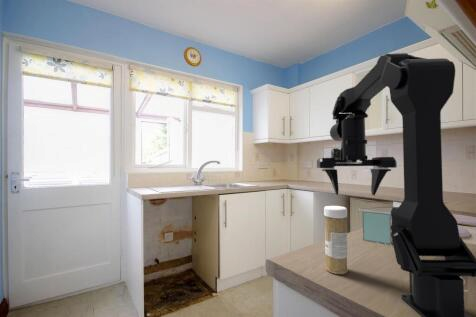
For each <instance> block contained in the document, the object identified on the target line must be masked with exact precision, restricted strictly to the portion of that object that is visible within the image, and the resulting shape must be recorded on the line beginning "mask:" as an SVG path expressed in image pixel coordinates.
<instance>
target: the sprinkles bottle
mask: <svg viewBox="0 0 476 317" xmlns="http://www.w3.org/2000/svg"><path fill="white" fill-rule="evenodd" d="M323 215H324V221H325V222H324V226H325V229H324V250H325V251H324V252H325V266H324V267H325V270H326V271H328V273H330V274H331V273H332V274H334V275H335V274H336V275H345V274H347V273H348V272H349V269H348V231H347V229H348V228H347V220H348V209H347V207H345V206H341V205H326V206H324V207H323Z"/></svg>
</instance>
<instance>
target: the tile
mask: <svg viewBox="0 0 476 317" xmlns="http://www.w3.org/2000/svg"><path fill="white" fill-rule="evenodd" d="M361 213H362V241H366V242H370V241H372V243H377V242H379V243H378V244H383V243H386V244H385V245H389V244H392V245H393V242H392V237H391V232H392V230H391V225H392V218H391V211H380V210H379V211H378V210H377V211H376V210H366V209H363V210H362V212H361Z"/></svg>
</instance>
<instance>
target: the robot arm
mask: <svg viewBox="0 0 476 317" xmlns="http://www.w3.org/2000/svg"><path fill="white" fill-rule="evenodd" d="M455 78H456V66H455V63H454V61H452V60H450V59H447V58H445V57H444V58H443V57H442V58H440V57H439V58H425V57H420V56H415V55H412V54H408V53H407V52H399V53H398V52H397V53H396V52H395V53H385V54H384V55H383V54H382V55H380V56H379V57H378V59H377V61H376V64H375V65H374V66H373V67H372V68H371V69H370V70H369V72H367V73H366V75H364V77H363V78H362V79H360V80H359V82H358V83H357V84H356V85H355V86H352V87H350V88H346V89H344V90H343V91H342V92H341V93H339V96H338V97H337V98H336V101H335V104H334V106H333V109H332V113H331V114H332V120H334V121H335V123H334V124H333V125H332V126H331V127H330V130H329V136H330V138H331V139H332V140H333V141H335V142H341V144H340V146H341V147H340V149H339V148H331V150H330V153H331V154H330V156H331V157H319V158H318V159H317V160H316V169H321V171H322V172H324V173H326V174H327V175H326V176H328V179H329V180H330V182H331V185H332V188H333V191H334V193H335V195H337V196H338V195H339V177H338V169H336V167H372V168H370V174H371V185H370V186H371V187H370V189H371V196H375V195H376V194H377V191H378V189H379V187H380V185H381V183H382V181H383V179H384V177H385V176H386V174H387V173H388V172H391V171H392V169H393V168H394V169H395V168H397V160H396V158H395V157H394V156H376V157H372V158H371V159H369V158H368V157H369V156H368V155H367V149H366V144H368V139H366V118H368V117H369V115H368V113H366V112H367V110H368V109H369V108H370V107H371V105H372V102H371V100H372V99H373V98H374V97H375V96H377V95H378V94H379V93H381V92H382V91H383V90H385V88H386V87H387V88H389V90H388V91H389V96H390V101H391V103H392V105H393V106H394V107H395V109H396V110H397V111H398V113H400V115H401V117H402V147H403V149H402V150H403V152H402V153H403V154H402V155H403V188H404V190H403V192H404V194H403V195H404V196H403V197H404V198H403V201H402V202H401V204H400V205H399V206H392V207H391V211H390V212H391V238H392V245H393V246H392V247H393V250H394V254H395V259H396V263H397V264H398V265H399V266H400V269H401V270H402V271H404V272H407V273H408V275H409V293H410V294H401V295H400V297H401V300H402V301H404V303H406V304H407V305H408V306H409V307H411V308H412V309H413V310H414V311H415V312H416V313H418V314H419V315H420V316H421V317H472V316H471V315H470V314H468V313H467V312H466V311H465V284H464V278H462V277H471V278H476V257H475V255H474V254H473V252H471V250H470V248H469V246H468V245H467V244H466V243H465V241H464V240H463V238H462V237H461V236H460V230H459V225H458V221H457V218H456V217H455V216H454V215H453V213H452V212H451V210H449V208H448V207H447V206H446V204H445V203H444V189H443V188H444V187H443V186H444V185H443V184H444V183H443V154H442V153H443V149H442V146H443V145H442V120H441V115H442V114H441V113H442V110H443V108H444V107H445V105H446V104H447V103H448V101H449V100H450V98H451V97H452V96H453V93H454V87H455ZM357 161H358V162H357ZM421 257H435V258H436V257H438V258H439V257H443V258H444V259H421Z"/></svg>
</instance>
